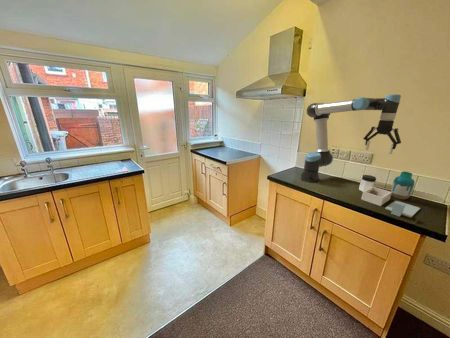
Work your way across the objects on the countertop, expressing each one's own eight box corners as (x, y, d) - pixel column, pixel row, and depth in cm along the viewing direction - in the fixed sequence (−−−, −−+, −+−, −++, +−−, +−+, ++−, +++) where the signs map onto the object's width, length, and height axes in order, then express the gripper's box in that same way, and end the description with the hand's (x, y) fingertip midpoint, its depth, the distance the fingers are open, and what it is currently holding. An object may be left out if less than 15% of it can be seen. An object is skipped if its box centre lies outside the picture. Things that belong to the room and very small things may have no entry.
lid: (382, 212, 115) (385, 200, 112) (394, 202, 127) (398, 191, 124) (408, 221, 105) (412, 208, 103) (419, 210, 117) (423, 198, 115)
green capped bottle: (412, 203, 126) (421, 176, 120) (392, 200, 130) (401, 174, 124) (404, 196, 136) (412, 171, 130) (386, 194, 139) (393, 169, 133)
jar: (369, 194, 137) (373, 179, 134) (356, 190, 144) (360, 176, 140) (374, 192, 142) (378, 177, 138) (362, 188, 149) (365, 174, 145)
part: (370, 196, 133) (371, 192, 132) (370, 195, 135) (371, 190, 134) (376, 198, 130) (377, 193, 129) (376, 196, 133) (378, 192, 132)
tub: (360, 200, 129) (363, 191, 127) (370, 194, 138) (372, 186, 136) (380, 207, 120) (382, 197, 118) (389, 200, 129) (392, 192, 127)
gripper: (362, 118, 131) (355, 149, 137) (410, 121, 111) (399, 156, 118) (367, 118, 135) (360, 148, 141) (414, 121, 115) (403, 155, 122)
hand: (378, 151), depth 130 cm, fingers open, 13 cm apart
